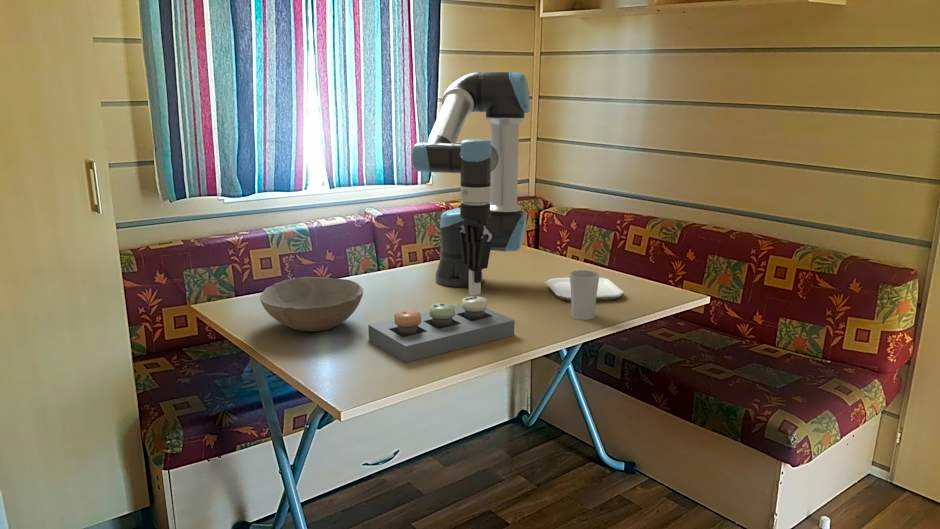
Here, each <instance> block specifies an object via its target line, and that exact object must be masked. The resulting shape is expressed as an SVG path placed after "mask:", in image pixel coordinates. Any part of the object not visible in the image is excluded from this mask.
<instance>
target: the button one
mask: <svg viewBox="0 0 940 529" xmlns="http://www.w3.org/2000/svg"><path fill="white" fill-rule="evenodd" d="M421 313H422V312H420V311H417V310H413V309H412V310H411V309H410V310H409V309H407V310H400V311H397V312H394V316H393V319H394V322H395V324H396V325H397V326H398V335H400V336H403V337H406V336H410V335H415V334H418V325H419V324H420V323H421Z"/></svg>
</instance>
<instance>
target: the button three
mask: <svg viewBox="0 0 940 529" xmlns="http://www.w3.org/2000/svg"><path fill="white" fill-rule="evenodd" d="M461 302H462V303H461V305H462V309H464V310H465V319H468V320H470V321H475V320H479V319H483V318H484V310H486V309H488V299H487V298H486V297H482V296H467V297H464V298H462V300H461Z"/></svg>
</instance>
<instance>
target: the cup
mask: <svg viewBox="0 0 940 529" xmlns="http://www.w3.org/2000/svg"><path fill="white" fill-rule="evenodd" d="M599 277H600V273H598V272H597V271H594V270H588V269H587V270H586V269H578V270H572V271H570V272H569V278H570V285H571V301H570V303H571V304H570V305H571V309H570V310H571V312H570V317H571V318H573V319H575V320H583V321H585V320H587V321H588V320H592V319H594V318H595V310H596V304H597V301H596V296H597V288H598V282H599Z"/></svg>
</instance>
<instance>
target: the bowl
mask: <svg viewBox="0 0 940 529" xmlns="http://www.w3.org/2000/svg"><path fill="white" fill-rule="evenodd" d="M363 295H364V288H363V287H362V285H360V284H359V283H358V282H356V281H353V280H350V279H344V278H331V277H319V276H318V277H316V276H315V277H314V276H305V277H295V278H290V279H285V280H282V281H280V282H276V283H274V284H273V285H271V286H268V287H266V288H265V289H264V290H263V291H262V292H261V294H260V297H259V298H260V300H259V301H260V303H261V305H262V307H263V309H264V310H265V311H266V312H267V313H268V314H269V316H271V317H272V318H273V319H274V320H275V321H276V322H278V323H280V324H281V325H283V326H285V327H288V328H290V329H293V330H297V331H299V332H300V331H301V332H305V331H307V332H318V331H319V332H321V331H323V330H324V331H326V330H330V329H332V328H334V327H336V326H338V325H341V324H342V323H344V322H345V321H346V320H348V318H350V316H352V314H354V313H355V311H356V310H357V308H358V307H359V304H360V303H361V300H362V298H363Z"/></svg>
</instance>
